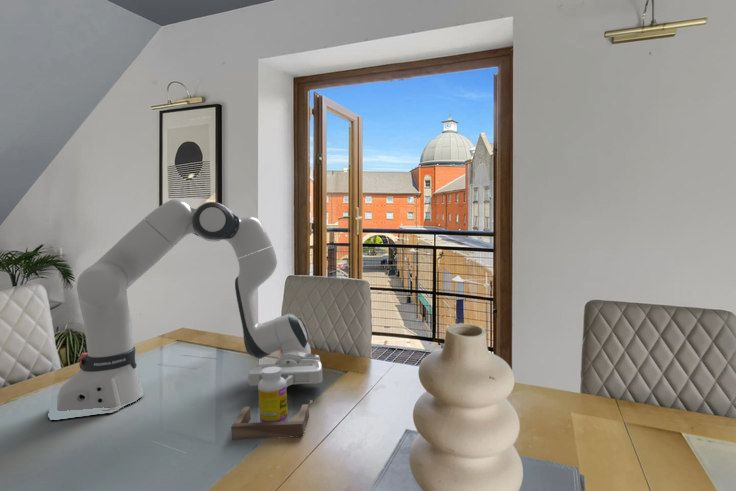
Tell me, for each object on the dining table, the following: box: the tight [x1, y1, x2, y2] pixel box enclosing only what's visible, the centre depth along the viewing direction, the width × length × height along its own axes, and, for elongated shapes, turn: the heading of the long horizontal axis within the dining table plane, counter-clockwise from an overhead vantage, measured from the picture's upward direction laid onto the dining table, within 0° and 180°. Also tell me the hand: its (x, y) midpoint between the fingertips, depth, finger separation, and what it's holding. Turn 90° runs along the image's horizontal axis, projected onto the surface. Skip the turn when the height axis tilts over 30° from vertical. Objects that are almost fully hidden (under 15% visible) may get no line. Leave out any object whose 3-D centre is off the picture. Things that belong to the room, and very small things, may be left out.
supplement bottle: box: [257, 366, 289, 422], centre depth 106 cm, size 7×7×13 cm
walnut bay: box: [230, 403, 310, 440], centre depth 104 cm, size 10×16×3 cm, turn 90°
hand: (280, 385), depth 114 cm, fingers closed
